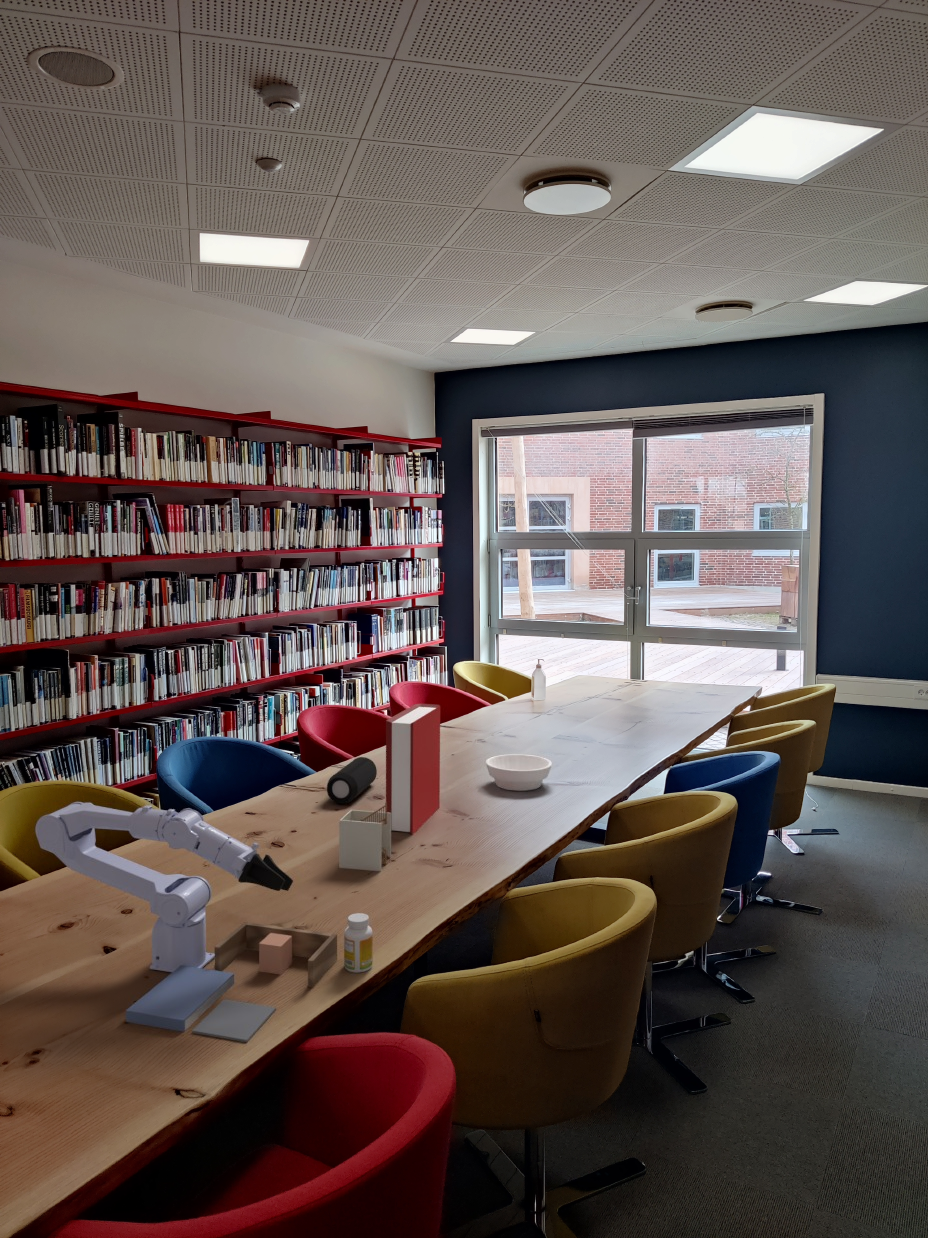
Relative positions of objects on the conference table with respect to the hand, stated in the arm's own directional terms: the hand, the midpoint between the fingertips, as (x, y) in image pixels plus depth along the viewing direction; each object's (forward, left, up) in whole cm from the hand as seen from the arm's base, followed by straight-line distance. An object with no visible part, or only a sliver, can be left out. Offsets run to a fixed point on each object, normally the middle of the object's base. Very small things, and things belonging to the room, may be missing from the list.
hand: (286, 886), depth 155 cm
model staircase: (-6, +57, -18) cm, 60 cm away
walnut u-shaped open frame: (-3, +3, -17) cm, 18 cm away
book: (-5, +94, -17) cm, 96 cm away
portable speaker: (-32, +112, -18) cm, 118 cm away
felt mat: (-1, -16, -17) cm, 24 cm away
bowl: (+18, +137, -18) cm, 139 cm away
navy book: (-13, -13, -18) cm, 26 cm away
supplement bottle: (+12, +7, -17) cm, 22 cm away
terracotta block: (-3, +2, -17) cm, 18 cm away
